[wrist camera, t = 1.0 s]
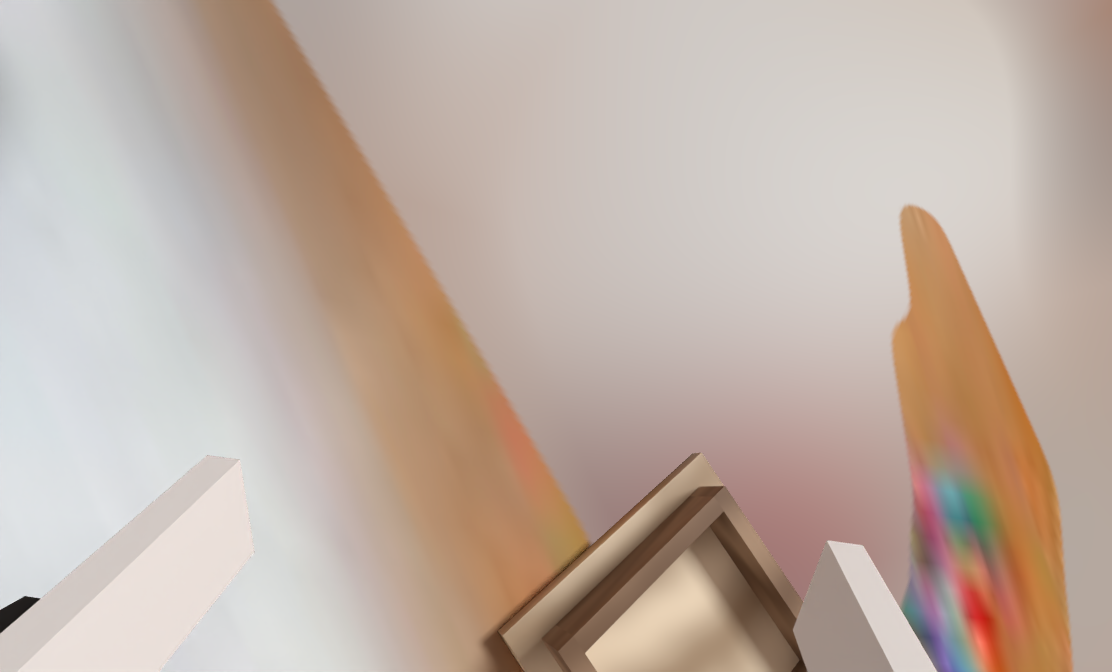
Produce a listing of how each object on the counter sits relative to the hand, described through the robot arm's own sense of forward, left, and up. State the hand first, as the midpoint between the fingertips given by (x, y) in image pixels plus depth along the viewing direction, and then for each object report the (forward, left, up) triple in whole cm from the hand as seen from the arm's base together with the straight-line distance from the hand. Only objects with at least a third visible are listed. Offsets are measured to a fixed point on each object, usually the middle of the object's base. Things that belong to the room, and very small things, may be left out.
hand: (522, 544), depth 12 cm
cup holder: (+15, +8, -18) cm, 25 cm away
